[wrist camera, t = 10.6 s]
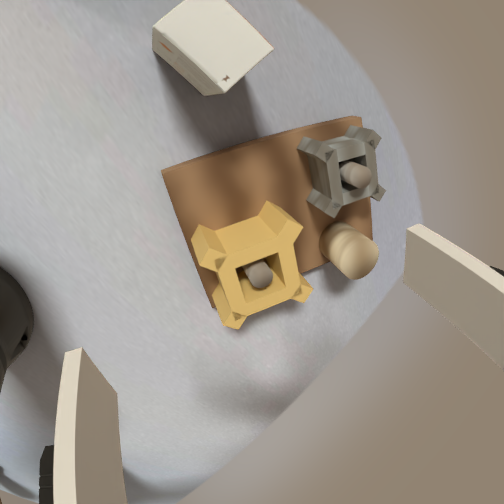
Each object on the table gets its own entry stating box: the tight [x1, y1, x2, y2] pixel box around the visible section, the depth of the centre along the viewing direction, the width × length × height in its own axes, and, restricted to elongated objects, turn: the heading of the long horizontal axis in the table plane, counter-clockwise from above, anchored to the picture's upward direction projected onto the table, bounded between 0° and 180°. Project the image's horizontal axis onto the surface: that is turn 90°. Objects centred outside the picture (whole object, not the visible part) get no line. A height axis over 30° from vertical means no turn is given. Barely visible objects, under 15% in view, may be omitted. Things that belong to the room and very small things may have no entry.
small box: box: [152, 0, 274, 96], centre depth 24 cm, size 8×6×10 cm
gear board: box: [161, 116, 386, 308], centre depth 36 cm, size 24×18×8 cm
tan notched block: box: [191, 201, 313, 330], centre depth 35 cm, size 11×11×6 cm
